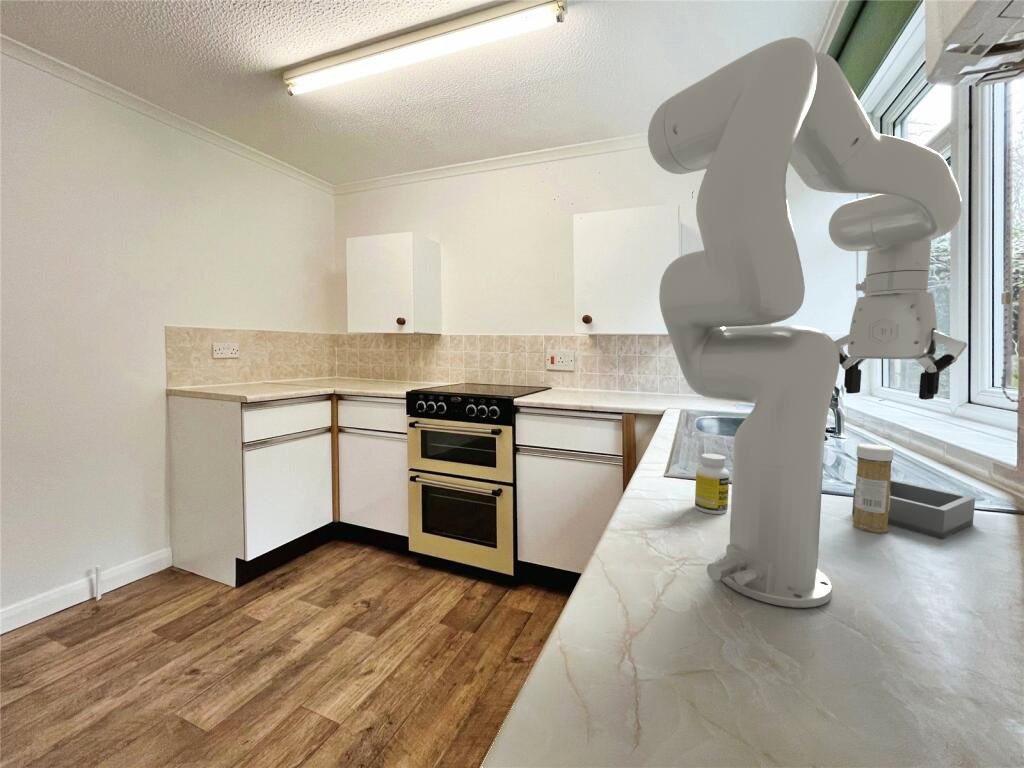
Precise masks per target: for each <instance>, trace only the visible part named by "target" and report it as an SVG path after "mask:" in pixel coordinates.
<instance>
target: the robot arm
mask: <svg viewBox="0 0 1024 768" xmlns="http://www.w3.org/2000/svg"><path fill="white" fill-rule="evenodd" d="M648 124H649V125H648V129H647V143H648V147H649V148H648V149H649V151H650V154H651V156H652V158H653V159H654V162H656V164H657V165H658V166H659V167H661V169H663V170H664V171H666V172H668V173H671V174H675V175H686V174H690V173H695V172H699V171H704V170H705V173H704V176H703V178H702V181H701V183H700V186H699V190H698V194H697V198H696V205H695V215H696V221H697V225H698V229H699V232H700V237H701V240H702V241H701V242H702V245H703V250H697V251H693V252H689V253H685V254H684V255H681V256H679V257H677V258H676V259H674V260H673V261H672V262H671V263H670V264H668V266H667V267H666V268H665V270H664V273H663V274H662V277H661V279H660V283H659V297H658V299H659V307H660V312H661V316H662V318H663V319H662V320H663V322H664V325H665V328H666V330H667V333H668V334H667V335H668V336H669V339H670V342H671V345H672V347H673V350H674V353H675V356H676V360H677V362H678V364H679V368H680V370H681V372H682V375H683V377H684V380H685V381H686V383H687V384H688V386H689V387H690V389H691V390H692V391H693V392H695V393H696V394H698V395H700V396H702V397H703V398H704V397H705V398H710V399H716V400H724V401H733V402H741V403H742V402H743V403H746V404H753V405H754V406H753V408H752V410H751V411H750V413H749V414H748V415H747V416H746V418H745V419H743V421H742V423H741V424H740V425H739V426H738V428H737V430H736V432H735V434H734V438H733V445H732V472H731V473H732V475H731V498H730V502H731V503H730V526H729V544H727V545H726V550H725V551H726V552H723V553H721V554H720V555H718V556H717V557H716V559H715V561H714V562H711V563H708V565H707V566H706V572H707V574H708V576H709V578H710V579H712V580H713V581H722V582H723V583H724V584H725V585H727V587H730V588H731V589H732V590H734V591H736V592H738V593H740V594H742V595H744V596H746V597H749V598H751V599H753V600H756V601H759V602H763V603H766V604H770V605H775V606H779V607H787V608H802V609H804V608H805V609H807V608H815V607H819V606H822V605H824V604H827V603H828V602H829V601H830V600H831V598H832V594H833V585H832V583H831V580H830V579H829V578H828V577H827V576H826V575H825V574H824V573H823V572H821V570H819V569H818V561H819V560H818V559H819V544H820V543H819V541H820V528H821V527H820V526H821V511H822V508H821V507H822V495H823V494H822V491H823V490H822V489H823V472H824V453H825V443H826V442H825V441H826V428H827V423H828V417H829V416H828V415H829V411H830V406H831V405H830V404H831V401H832V399H833V398H832V397H833V394H834V390H835V386H836V382H837V380H838V375H839V371H840V365H841V368H842V369H843V370H844V381H843V382H844V384H843V385H844V388H845V393H846V394H851V395H852V394H858V393H860V392H861V387H862V386H861V384H862V382H861V381H862V369H861V368H860V369H859V367H860V366H861V365H862V364H863V363H864V362H865V361H866V360H867V359H873V360H875V359H876V360H915V361H916V362H917V363H919V365H921V366H922V368H923V369H924V372H921V373H920V379H919V391H918V393H919V394H918V398H919V399H920V400H932V399H935V398H934V397H935V395H937V394H938V392H939V385H940V373H942V372H944V370H945V369H946V368H948V367H949V366H951V365H952V364H953V363H955V362H956V361H957V360H958V358H959V357H960V356H961V355H962V354H963V352H964V351H965V350H966V348H967V347H968V343H967V342H966V341H963V340H960V339H958V338H956V337H954V336H950V335H947V334H945V333H943V332H940V331H938V324H937V323H938V321H937V313H936V312H937V311H936V303H935V299H934V294H933V292H928V287H929V276H930V275H929V274H930V262H931V250H932V249H931V248H932V240H935V239H937V238H941V237H943V236H945V235H947V234H948V233H950V232H951V231H952V230H953V229H955V227H956V225H957V224H958V222H959V220H960V218H961V214H962V202H963V201H962V197H961V193H960V189H959V187H958V183H957V181H956V179H955V177H954V175H953V172H952V170H951V168H950V167H949V165H948V162H947V161H946V160H945V158H944V157H943V156H942V155H941V154H940V153H938V152H937V151H936V150H934V149H932V148H930V147H927V146H925V145H922V144H920V143H917V142H914V141H911V140H908V139H904V138H901V137H897V136H893V135H887V134H882V133H878V132H877V131H876V130H875V128H874V127H873V125H872V123H871V121H870V119H869V117H868V115H867V113H866V111H865V110H864V108H863V106H862V105H861V103H860V101H859V99H858V98H857V96H856V94H855V92H854V90H853V88H852V86H851V84H850V83H849V81H848V79H847V77H846V76H845V74H844V73H843V70H842V69H841V67H840V65H839V64H838V63H837V60H835V59H834V58H833V57H832V56H831V55H829V54H827V53H824V52H818V51H816V52H815V51H814V48H813V47H812V45H811V44H810V42H809V41H808V40H806V39H804V38H801V37H797V36H793V37H792V36H791V37H785V38H781V39H777V40H774V41H771V42H769V43H767V44H765V45H762V46H760V47H758V48H756V49H754V50H752V51H750V52H748V53H746V54H744V55H742V56H740V57H739V58H737V59H734V60H733V61H732V62H730V63H728V64H726V65H724V66H722V67H720V68H719V69H717V70H716V71H714V72H713V73H711V74H710V75H707V76H706V77H704V78H702V79H700V80H698V81H697V82H695V83H693V84H692V85H689V86H688V87H686V88H684V89H683V90H681V91H679V92H677V93H675V94H674V95H672V96H670V97H669V98H668V99H667V100H665V101H664V102H662V103H661V104H660V105H659V106H658V107H657V108H656V110H655V112H654V113H653V115H652V117H651V119H650V122H649V123H648ZM789 164H790V166H791V167H792V168H793V169H794V171H795V172H796V174H797V175H798V177H800V179H801V181H802V182H803V184H805V185H806V187H809V188H810V189H811V190H814V191H818V192H825V193H833V194H834V193H836V194H873V195H870V196H866V197H861V198H858V199H854V200H851V201H848V202H845V203H844V204H842V205H841V206H839V207H838V208H837V209H836V210H835V211H834V212H833V213H832V215H831V216H830V219H829V223H828V235H829V237H830V240H831V241H832V243H833V244H834V245H835V246H837V247H838V248H840V249H841V250H843V251H847V252H866V253H867V254H866V269H865V277H864V278H863V281H861V282H857V283H855V290H856V292H863V294H864V296H860V297H859V296H858V297H857V300H856V303H855V306H854V308H853V314H852V318H851V322H850V328H849V334H847V335H845V336H843V337H841V338H838V339H836V340H833V338H831V336H829V335H828V334H827V333H825V332H823V331H821V330H819V329H817V328H813V327H807V326H803V325H802V326H801V325H772V324H776V323H780V322H784V321H785V320H787V319H789V318H792V317H793V316H794V315H796V313H798V312H799V310H800V309H801V308H802V305H803V303H804V300H805V292H806V290H805V279H804V278H805V277H804V272H803V268H802V262H801V258H800V254H799V249H798V244H797V241H796V235H795V230H794V227H793V222H792V218H791V214H790V208H789V203H788V197H787V189H786V181H787V172H788V171H787V170H788V165H789ZM874 194H875V195H874ZM770 324H771V325H770ZM764 325H767V326H764ZM769 325H770V326H769ZM938 343H939V344H940V345H943V346H946V347H947V348H948V349H947V351H946V352H945V353H944V355H942V356H941V357H940V358H939V357H938V359H937V358H936V357H935V354H936V351H937V344H938ZM845 346H847V353H848V354H846V353H845V351H844V347H845Z"/></svg>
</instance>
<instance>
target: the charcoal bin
mask: <svg viewBox="0 0 1024 768" xmlns="http://www.w3.org/2000/svg"><path fill="white" fill-rule="evenodd" d="M975 504H976V497H975V496H969V495H965V494H960V493H955V492H950V491H946V490H941V489H937V488H932V487H928V486H927V487H926V486H922V485H918V484H914V483H913V484H912V483H908V482H903V481H899V480H894V479H891V481H890V506H889V512H888V525H890V526H894V527H897V528H901V529H904V530H908V531H911V532H914V533H918V534H921V535H925V536H929V537H933V538H936V539H939V540H945V539H947V538H948V537H950V536H952V535H954V534H957V533H959V532H961V531H963V530H964V529H966V528H969V527H971V526H973V525H974V515H975ZM854 512H855V488H853V498H852V513H851V514H852V515H854Z"/></svg>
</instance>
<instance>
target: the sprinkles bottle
mask: <svg viewBox="0 0 1024 768" xmlns="http://www.w3.org/2000/svg"><path fill="white" fill-rule="evenodd" d="M894 452H895V451H894V449H893V448H892V447H891V446H887V445H882V444H876V443H875V444H873V443H860V444H857V446H856V459H857V463H856V467H857V468H856V474H855V488H854V489H855V512H854V514H853V515H854V516H853V520H852V524H853V526H855V527H856V528H857V529H859V530H861V531H865V532H870V533H876V534H882V533H887V532H888V531H889V524H888V512H889V506H890V481H891V480H892V479H891V478H892V476H891V475H892V463H893V460H894Z"/></svg>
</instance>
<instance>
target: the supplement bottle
mask: <svg viewBox="0 0 1024 768" xmlns="http://www.w3.org/2000/svg"><path fill="white" fill-rule="evenodd" d="M726 457H727V456H724V455H723V454H718V453H703V454H701V457H700V463H701V465H699V466H698V467H697V468H696V473H695V493H694V494H695V495H694V507H695V508H696V509H697V510H698V511H700V512H703V513H705V514H711V515H722V514H726V512H728V509H729V508H728V505H729V492H730V491H729V489H730V472H729V470H728V469H726V468H725V466H726V465H727V464H726V463H727V461H726V460H727V458H726Z"/></svg>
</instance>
